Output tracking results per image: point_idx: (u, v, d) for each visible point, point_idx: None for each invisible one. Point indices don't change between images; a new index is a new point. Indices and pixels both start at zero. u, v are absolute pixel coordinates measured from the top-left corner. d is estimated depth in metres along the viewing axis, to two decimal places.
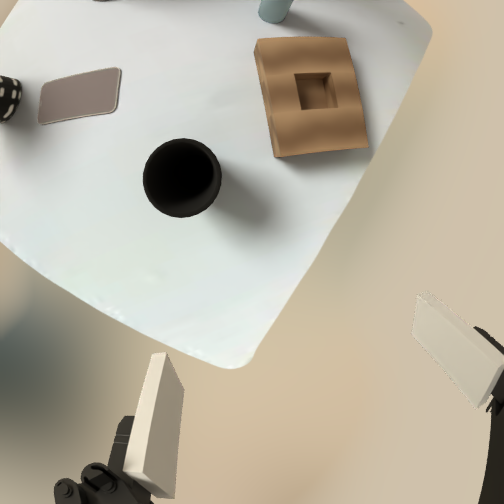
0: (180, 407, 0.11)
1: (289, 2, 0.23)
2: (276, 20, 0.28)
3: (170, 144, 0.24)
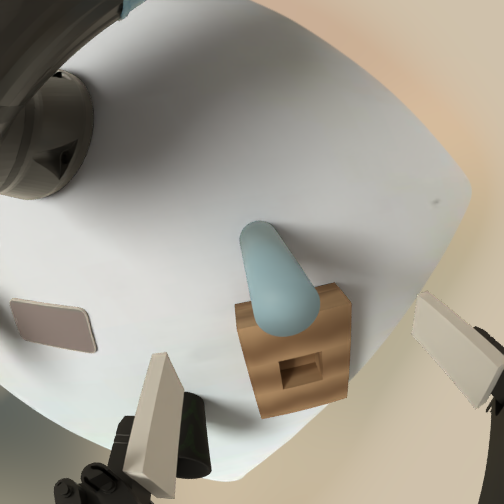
0: (180, 407, 0.11)
1: None
2: None
3: None
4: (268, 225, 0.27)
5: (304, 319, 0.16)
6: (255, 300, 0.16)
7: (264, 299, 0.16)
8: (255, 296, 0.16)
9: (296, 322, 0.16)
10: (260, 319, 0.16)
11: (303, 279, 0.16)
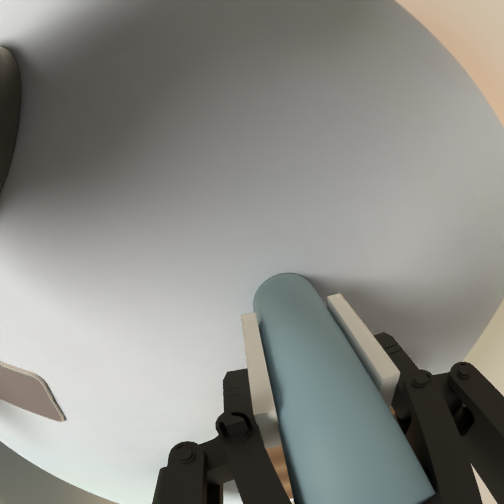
0: None
1: None
2: None
3: None
4: (305, 284, 0.15)
5: None
6: None
7: None
8: None
9: None
10: None
11: (422, 490, 0.04)
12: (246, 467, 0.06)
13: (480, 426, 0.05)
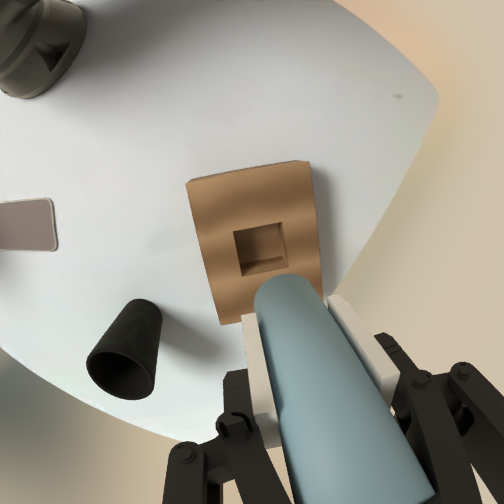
0: None
1: None
2: None
3: (101, 351, 0.23)
4: (305, 285, 0.15)
5: None
6: None
7: None
8: None
9: None
10: None
11: (422, 491, 0.04)
12: (246, 467, 0.06)
13: (480, 426, 0.05)
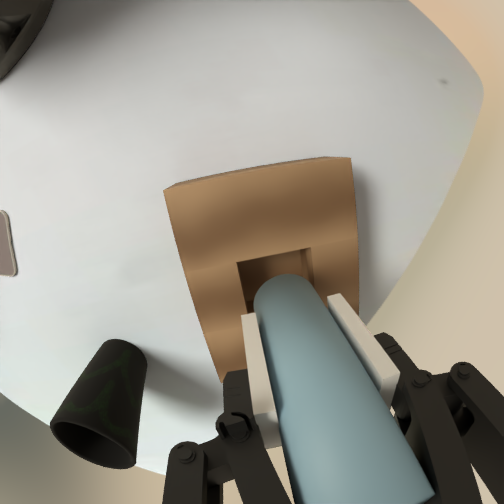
0: None
1: None
2: None
3: None
4: (305, 285, 0.15)
5: None
6: None
7: None
8: None
9: None
10: None
11: (422, 491, 0.04)
12: (246, 467, 0.06)
13: (480, 426, 0.05)
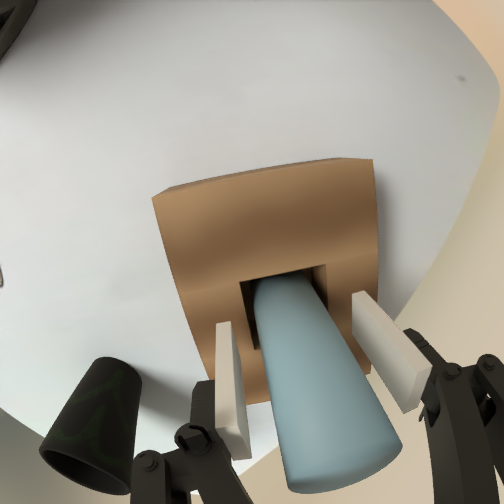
0: (241, 374, 0.13)
1: None
2: None
3: None
4: None
5: (368, 472, 0.07)
6: (293, 473, 0.06)
7: (311, 472, 0.06)
8: (292, 464, 0.06)
9: (355, 477, 0.07)
10: (298, 487, 0.06)
11: (386, 435, 0.06)
12: (209, 479, 0.06)
13: (501, 417, 0.05)
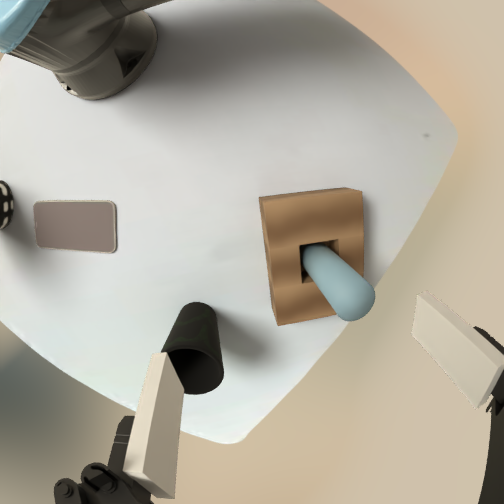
0: (180, 407, 0.11)
1: None
2: None
3: (178, 348, 0.27)
4: (322, 242, 0.34)
5: (364, 309, 0.23)
6: (337, 295, 0.23)
7: (343, 294, 0.23)
8: (336, 292, 0.23)
9: (359, 310, 0.23)
10: (338, 308, 0.23)
11: (367, 282, 0.23)
12: None
13: None
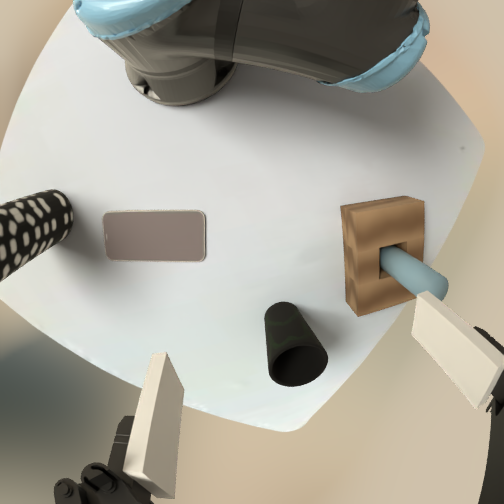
0: (180, 407, 0.11)
1: None
2: None
3: (293, 346, 0.31)
4: None
5: (441, 297, 0.27)
6: (426, 288, 0.26)
7: (430, 287, 0.26)
8: (425, 286, 0.27)
9: (438, 298, 0.27)
10: None
11: None
12: None
13: None
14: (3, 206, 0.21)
